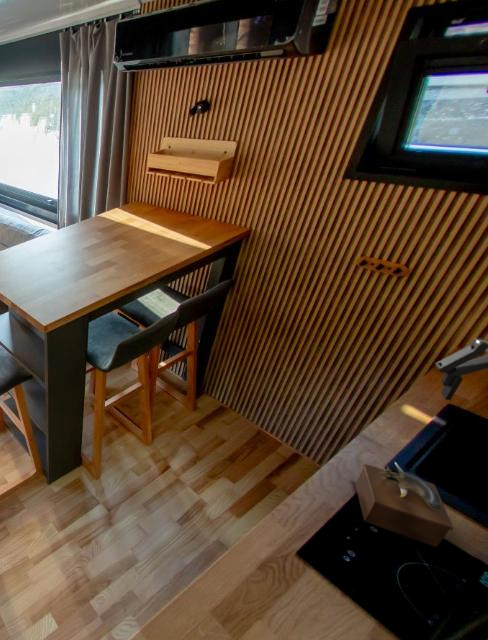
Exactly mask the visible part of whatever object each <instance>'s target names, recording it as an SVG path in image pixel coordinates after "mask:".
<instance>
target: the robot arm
mask: <svg viewBox="0 0 488 640" xmlns="http://www.w3.org/2000/svg"><path fill="white" fill-rule="evenodd" d="M484 352H485V353H486V354H485V355H482V354H484ZM434 366H435V367H436V368H437V370H438V371H439V373H443V375H442V377H441V379H440V382H441V384H442V385H443V387H442V389H441V390H440V393H441V395H442V397H443V399H444V400H445V401H451V400H452V399H453V397H454V395H455V394H456V392H457V390H458V389H459V387H460V385H461V383H462V381H463V380H464V379H463V377H462V376H464V375H468V374H471V373H475V372H479V371H482V370H486V369H488V341H487V340H485V339H484V338H482V337H475V338H474V339H473V340H472V342H470V344H468V345H467V346H465V347H463V348H461V349H459V350H457V351H456V352H453V353H451V354H450V355H448V356H446V357H444V358H442V359H440V360H438V361H437V362H435V363H434Z"/></svg>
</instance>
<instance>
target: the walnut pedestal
mask: <svg viewBox="0 0 488 640" xmlns="http://www.w3.org/2000/svg"><path fill="white" fill-rule="evenodd" d="M384 470H385V469H384V468H380V467H377V466H374V465H370V464H367V463H363V464H362V470H361V472H360V473H359V476H358V477H357V480H356V481H355V488H356V493H357V497H358V500H359V506H360V509H361V514H362V517H363V521H364V522H365V523H368V524H370V525H373V526H376V527H379V528H382V529H385V530H387V531H389V532H393V533H396V534H398V535H401V536H404V537H406V538H408V539H412V540H415V541H417V542H421V543H424V544H427V545H429V546H432V547H435V548H437V547H438V546H439V544H440V543H441V542H442V541H443V539H444V538H445V536H446V535H447V534H448V532H449V531H453V529H454V526H453V524H452V522H451V519H450V517H449V514H448V512H447V509H446V507H445V505H444V503H443V501H442V498H441V495H440V494H439V491H438V489H437V487H436V485H435V483H431V482H428V481H424V480H423V481H424V482H426V483H427V484H428V485H430V486H431V487H432V489H434V491H435V492H436V493H437V494H438V497H439V498H440V501H441V502H440V503H441V505H440V506H441V507H440V508H441V510H440V511H438V510H434V509H431V508H430V507H429V506H428V505H427V503H426V502H425V501H424V500H423V499H422V498H421V497H420V496H419V495H418V494H417V493H416V492H414V491H412V490H410V489H408V491H407V495H406V496H404V497H400V496H401V490H400V487H399V482H396V481H392V480H385V479H383V478H384V476H382V475H380V472H381V473H384ZM390 473H392V474H396V475H399V472H394V471H391V472H390Z"/></svg>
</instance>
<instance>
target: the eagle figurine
mask: <svg viewBox="0 0 488 640" xmlns="http://www.w3.org/2000/svg"><path fill="white" fill-rule="evenodd" d="M394 465H395V466H396V468H397V471H398V472H397V473H398V474H399V475H396V474H392V473H390V472H392V469H391V468H390V467H389V466H388V465H386V464H385V467H386V469H384V473H381V472H380V475H382V476H384V478H383V479H385V480H392V481H396V482H399V487H400V490H401V496H400V497H404V496H406V495H407V491H408V489H410V490H412V491H414V492H416V493H417V494H418V495H419V496H420V497H421V498H422V499H423V500H424V501H425V502H426V503H427V505H428V506H429V507H430V508H431V509H434V510H438V511H440V510H441V508H440V507H441V506H440V505H441V503H440V502H441V501H440V498H441V497H440V498H439V497H438V494H439V493H438V494H437V493H436V492H435V491H434V489H432V487H431V486H430V485H428V484H427V483H426V482H427V481H425V482H424V479H421V478H420V477H419V476H417V475H416V474H414V473H411V472H404V471H403V469H402V468H401V466H400V465H399V464H398V463H397V462H396V461H395V462H394Z"/></svg>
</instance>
